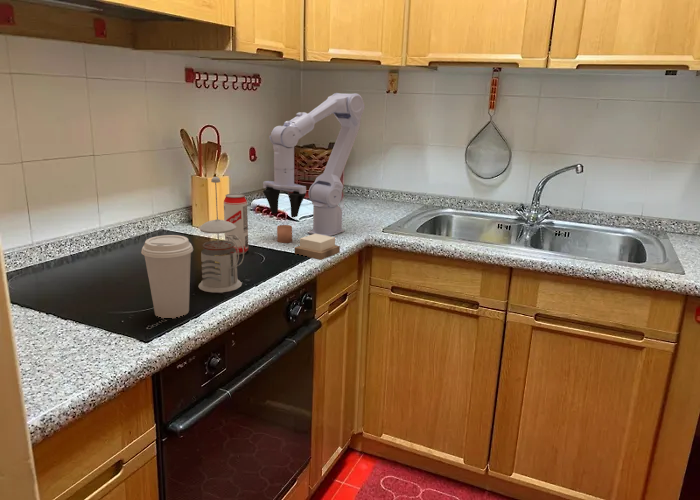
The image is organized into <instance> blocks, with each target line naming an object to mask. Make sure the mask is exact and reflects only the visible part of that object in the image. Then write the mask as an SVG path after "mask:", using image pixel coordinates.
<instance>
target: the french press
mask: <svg viewBox="0 0 700 500" xmlns="http://www.w3.org/2000/svg"><path fill="white" fill-rule="evenodd" d="M211 183H213V184H215V185H214V186H215V209H216V219H212V220H208V221H206V222H204V223H203V224H201V225H200V226H198V229H199V231H200V232H201V233H204V234H217V240H208V241H205V242H204V243H202V245H201V246H202V248H203V249H202V250H201V251H200V260H201V261H200V262H202V263H201V273H202V275H201V277H202V280H201V282H200V283H198V288H199V290H201V291H204V292H208V293H227V292H232V291H235V290H238V289H239V288H240V287H242V285H243V282H241V281H240V279H238V267H239V266H240V265H242V263H243V261H244V258H245V253H244V248H243V245H242V242H241V241H240V239H239V238H238V237H237V236H236V235H234V236H235V237H236V238H238V240H239V241H240V243H241V245H242V248H243V254H242V259H241V261H240V262H239V258H240V255H239V250H238V247H237V245H236V243H235V241H234V236H233V239H232V238H231V237H228V241H225V239H223V240H222V239H220V236H219V235H220V234H225V233H227V232H231V231H234V229H235V228H236V226H235V225H234V224H233V223H231V222H228V221H224V219H219V214H218V212H219V211H218V193H217V183H221V178H219V177H218V176H213V177H212V178H211ZM229 238H230V239H232V241H229ZM233 242H234V243H235V244H234V243H233ZM234 245H236V247H237V251H238V255H237V253H236V249H235V248H232V247H234ZM229 252H234V253H233V255H232V254H229ZM238 262H239V264H238Z"/></svg>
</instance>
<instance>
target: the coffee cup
mask: <svg viewBox="0 0 700 500" xmlns="http://www.w3.org/2000/svg"><path fill="white" fill-rule="evenodd" d="M193 251H194V247H193V245H192V243H191V242H190V241H189V238H188V237H187V236H183V235H177V234H166V235H157V236H153V237H150V238H147V239H146V240H145V242H144V245H143V246H142V248H141V252H140V253H141V255H143V256H144V260H145V266H146V271H147V276H148V282H149V288H150V294H151V299H152V304H153V305H152V306H153V311H154V315H155V316H156V317H157V316H158V317H157V318H159V317H161V318H160V319H164V318H172V319H177V318H176V317H178V318H181V317H180V316H182V317H184V316H186V315H187V314H188V313H189V311H190V288H191V287H190V283H191V261H192V260H191V257H192V253H193ZM183 315H184V316H183Z"/></svg>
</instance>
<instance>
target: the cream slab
mask: <svg viewBox="0 0 700 500" xmlns="http://www.w3.org/2000/svg"><path fill="white" fill-rule="evenodd" d="M335 245H336V237H335V236H325V235H320V234H310V235H306V236H303V237H301V238H299V246H300V247H301V248H306V249H310V250H315V251H319V252H321V251H324V250H326V249H329V248H332V247H334V246H335Z"/></svg>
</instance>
